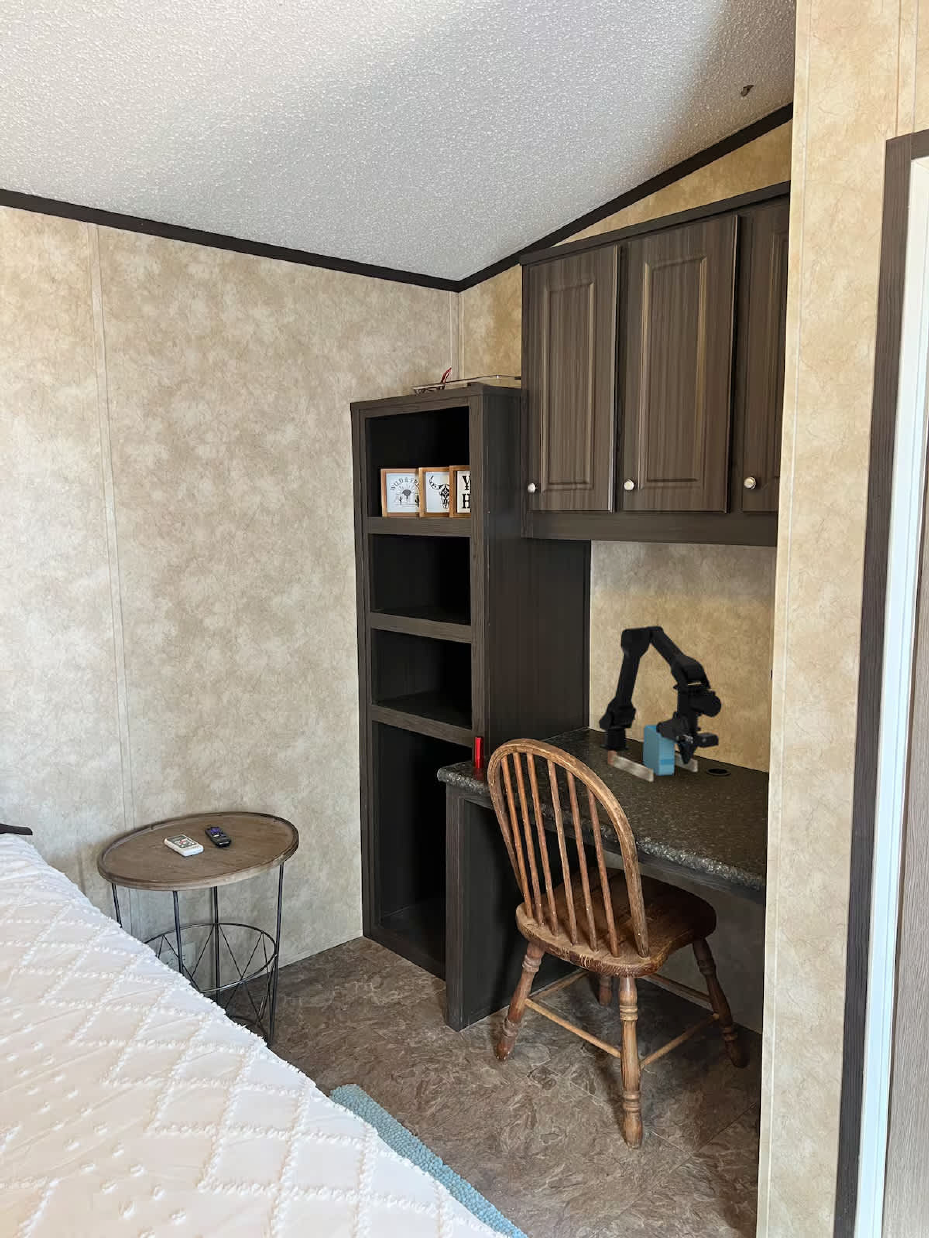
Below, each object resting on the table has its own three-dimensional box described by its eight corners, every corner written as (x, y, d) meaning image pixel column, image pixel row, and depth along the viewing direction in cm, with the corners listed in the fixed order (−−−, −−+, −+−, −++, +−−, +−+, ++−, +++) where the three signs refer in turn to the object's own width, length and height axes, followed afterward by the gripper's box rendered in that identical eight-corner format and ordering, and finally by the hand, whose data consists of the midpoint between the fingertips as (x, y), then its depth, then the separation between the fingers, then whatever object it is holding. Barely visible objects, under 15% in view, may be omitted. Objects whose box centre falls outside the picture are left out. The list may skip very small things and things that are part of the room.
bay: (607, 764, 268) (607, 751, 267) (655, 754, 277) (655, 742, 276) (648, 781, 252) (649, 768, 252) (698, 771, 261) (698, 758, 261)
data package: (674, 776, 257) (675, 734, 255) (658, 777, 256) (660, 735, 254) (657, 763, 269) (658, 723, 267) (642, 764, 268) (643, 723, 266)
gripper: (641, 704, 254) (640, 759, 256) (689, 720, 238) (687, 778, 240) (672, 699, 259) (670, 753, 262) (721, 714, 243) (719, 771, 246)
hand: (685, 764), depth 252 cm, fingers closed
